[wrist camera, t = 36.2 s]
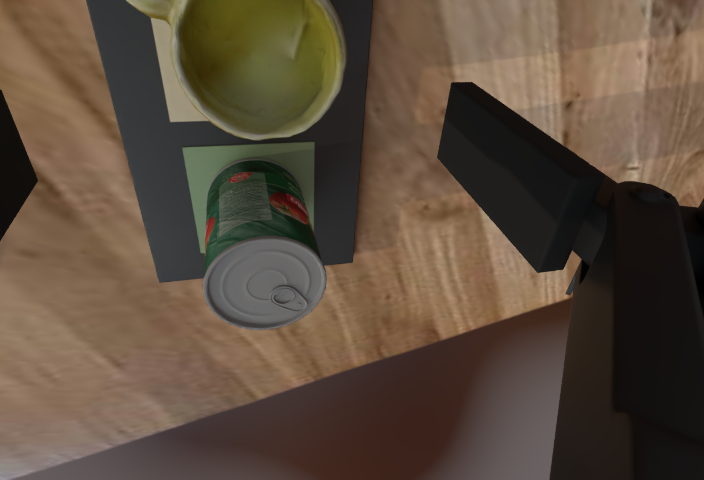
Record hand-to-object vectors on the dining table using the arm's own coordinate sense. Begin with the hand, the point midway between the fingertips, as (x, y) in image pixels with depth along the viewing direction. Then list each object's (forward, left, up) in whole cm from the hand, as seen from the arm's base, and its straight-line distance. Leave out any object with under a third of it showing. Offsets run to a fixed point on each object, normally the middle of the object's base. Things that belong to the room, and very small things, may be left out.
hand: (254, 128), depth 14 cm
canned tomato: (0, -14, -20) cm, 24 cm away
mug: (0, 0, -19) cm, 19 cm away
